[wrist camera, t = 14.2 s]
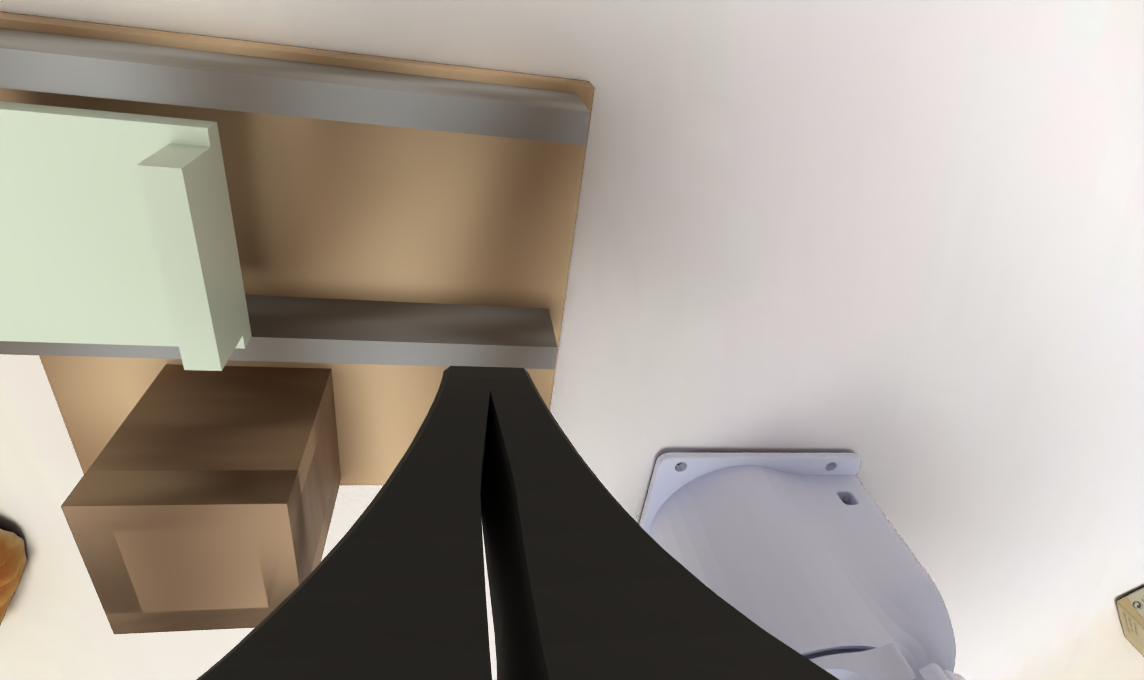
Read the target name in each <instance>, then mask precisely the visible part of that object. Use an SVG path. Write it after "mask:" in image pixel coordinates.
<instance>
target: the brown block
mask: <svg viewBox="0 0 1144 680" xmlns="http://www.w3.org/2000/svg"><path fill="white" fill-rule="evenodd" d="M340 481H341V473H340V461H339V449H338V438H337V426H336V414H335V403H334V391H333V379H332V369H325V368H288V367H250V366H224V368H223V370H222V371H204V370H184V367H183V365H175V364H166V365H165V366H164V367H163V369H162V370H161V371H160V373H159V374H158V376H157V377H156V378H155V380H154V381H153V382H152V384H151V385H150V386H149V388H148V389H147V390H146V392H145V393H144V395H143V396H142V397H141V399H140V400H139V401H138V403H137V404H136V405H135V407H134V408H133V409H132V411H131V412H130V413H129V415H128V416H127V418H126V419H125V420H124V422H123V423H122V424H121V426H120V427H119V428H118V430H117V431H116V432H115V434H114V435H113V437H112V438H111V439H110V441H109V442H108V443H107V445H106V446H105V447H104V449H103V450H102V451H101V453H100V454H99V455H98V457H97V458H96V460H95V461H94V462H93V464H92V465H91V466H90V468H89V469H88V470H87V472H86V473H85V474H84V476H83V477H82V479H81V480H80V481H79V483H78V484H77V485H76V487H75V488H74V489H73V491H72V492H71V493H70V495H69V496H68V497H67V499H66V500H65V502H64V503H63V504H62V506H61V508H62V510H63V513H64V515H65V518H66V520H67V522H68V525H69V527H70V530H71V532H72V534H73V537H74V539H75V542H76V544H77V546H78V549H79V551H80V554H81V556H82V558H83V561H84V563H85V566H86V568H87V570H88V573H89V575H90V577H91V580H92V582H93V585H94V587H95V589H96V592H97V594H98V597H99V599H100V601H101V604H102V606H103V609H104V611H105V613H106V616H107V618H108V621H109V623H110V625H111V628H112V630H113V633H114V634H128V633H149V632H170V631H191V630H212V629H233V628H254V627H257V626H258V625H259V624H260V623H261V622H262V621H263V620H264V619H265V618H266V617H267V616H268V615H269V614H270V613H271V612H272V611H273V610H274V609H275V608H276V607H277V606H279V605H280V604H281V603H282V602H283V601H284V600H285V599H286V598H287V597H288V596H289V595H290V594H291V593H292V592H293V591H294V590H295V589H296V588H297V587H298V586H299V585H300V584H301V583H302V582H303V581H304V580H305V579H306V578H307V577H308V576H309V575H310V574H311V572H312V571H313V570H314V569H315V568H316V567H317V566H318V565H319V564H320V563H321V559H322V554H323V550H324V546H325V542H326V538H327V534H328V530H329V526H330V522H331V518H332V513H333V509H334V505H335V501H336V497H337V493H338V489H339V485H340Z"/></svg>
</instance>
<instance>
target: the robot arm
mask: <svg viewBox="0 0 1144 680" xmlns="http://www.w3.org/2000/svg"><path fill="white" fill-rule="evenodd" d="M681 462H683V463H682V464H680V465H677V464H678V463H681ZM860 466H861V460H860V458H859V457H858V456H857V455H856V454H855V453H693V452H670V453H664V454H662V455H661V456H659V457H658V459H657V461H656V463H655V467H654V471H653V475H652V478H651V482H650V486H649V490H648V493H647V497H646V501H645V505H644V508H643V512H642V516H641V520H640V523H639V524H638V523H637V522H636V521H635V520H634V519H633V518H632V517H631V516H630V515H629V514H628V513H627V512H626V511H625V509H624V508H623V507H622V506H621V505H620V504H619V503H618V502H617V501H616V499H615V498H614V497H613V496H612V495H611V494H610V492H609V491H608V490H607V489H606V488H605V487H604V485H603V484H602V483H601V482H600V480H599V479H598V478H597V477H596V475H595V474H594V473H593V472H592V470H591V469H590V468H589V467H588V465H587V464H586V463H585V461H584V460H583V459H582V457H581V456H580V455H579V453H578V452H577V451H576V449H575V448H574V446H573V445H572V444H571V442H570V441H569V439H568V438H567V436H566V435H565V433H564V432H563V431H562V429H561V428H560V426H559V425H558V423H557V422H556V420H555V419H554V417H553V415H552V414H551V412H550V410H549V409H548V407H547V406H546V404H545V402H544V401H543V399H542V397H541V395H540V394H539V392H538V390H537V388H536V386H535V384H534V383H533V381H532V379H531V377H530V374H529V373H528V372H527V371H526V370H525V369H524V368H515V367H479V366H450V367H448V368H447V369H446V370H444V371H443V376H442V380H441V383H440V386H439V389H438V392H437V394H436V396H435V399H434V401H433V403H432V405H431V407H430V409H429V411H428V414H427V416H426V417H425V419H424V421H423V423H422V425H421V426H420V428H419V430H418V432H417V434H416V435H415V437H414V439H413V441H412V443H411V444H410V446H409V448H408V449H407V451H406V453H405V454H404V456H403V457H402V459H401V460H400V462H399V463H398V465H397V466H396V468H395V469H394V471H393V472H392V474H391V475H390V477H389V478H388V480H387V481H386V483H385V484H384V486H383V487H382V488H381V490H380V491H379V493H378V494H377V495H376V497H375V498H374V499H373V501H372V502H371V503H370V505H369V506H368V507H367V509H366V510H365V511H364V512H363V514H362V515H361V516H360V517H359V519H358V520H357V521H356V522H355V524H354V525H353V526H352V527H351V528H350V530H349V531H348V532H347V533H346V534H345V536H344V537H343V538H342V539H341V540H340V541H339V542H338V544H337V545H336V546H335V547H334V548H333V549H332V550H331V551H330V553H329V554H328V555H327V556H326V557H325V558H324V559H323V560H322V562H321V563H320V564H319V565H318V566H317V567H316V568H315V569H314V570H313V571H312V572H311V574H310V575H309V576H308V577H307V578H306V579H305V580H304V581H303V582H302V583H301V584H300V585H299V586H298V587H297V588H296V589H295V590H294V591H293V592H292V593H291V594H290V595H289V596H288V597H287V598H286V599H285V600H284V601H283V602H282V603H281V604H280V605H279V606H277V607H276V608H275V609H274V610H273V611H272V612H271V613H270V614H269V615H268V616H267V617H266V618H265V619H264V620H263V621H262V622H261V623H260V624H259V625H258V626H257V627H255V628H254V629H253V630H252V631H251V632H250V633H249V634H248V635H247V636H246V637H245V638H244V639H243V640H242V641H241V642H240V643H239V644H238V645H236V646H235V647H234V648H233V649H232V650H231V651H230V652H229V653H227V654H226V655H225V656H224V657H223V658H222V659H221V660H220V661H218V662H217V663H216V664H215V665H214V666H213V667H211V668H210V669H209V670H208V671H207V672H205V673H204V674H203V675H202V676H201V677H199V678H198V679H197V680H492V675H491V663H490V651H489V636H488V622H487V607H486V592H485V576H484V558H483V540H482V526H483V535H484V544H485V553H486V562H487V571H488V579H489V588H490V597H491V606H492V614H493V623H494V632H495V645H496V658H497V680H965V679H964V678H963V677H962V676H961V675H959V674H956V673H953V670H954V665H955V656H956V648H955V638H954V633H953V628H952V625H951V621H950V618H949V615H948V611H947V609H946V606H945V604H944V601H943V599H942V597H941V595H940V593H939V591H938V589H937V587H936V585H935V584H934V582H933V580H932V579H931V577H930V576H929V574H928V573H927V572H926V570H925V569H924V568H923V566H922V565H921V564H920V562H919V561H918V560H917V558H916V557H915V556H914V554H913V553H912V551H911V550H910V549H909V547H908V546H907V545H906V543H905V542H904V541H903V539H902V538H901V537H900V535H899V534H898V533H897V531H896V530H895V529H894V527H893V526H892V524H891V523H890V522H889V520H888V519H887V518H886V516H885V515H884V514H883V512H882V511H881V510H880V508H879V507H878V506H877V504H876V503H875V502H874V500H873V499H872V497H871V496H870V495H869V493H868V492H867V491H866V489H865V488H864V487H863V485H862V484H861V483H860V481H859V480H858V479H857V477H856V474H857V472H858V470H859V468H860ZM481 517H482V519H481Z"/></svg>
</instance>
